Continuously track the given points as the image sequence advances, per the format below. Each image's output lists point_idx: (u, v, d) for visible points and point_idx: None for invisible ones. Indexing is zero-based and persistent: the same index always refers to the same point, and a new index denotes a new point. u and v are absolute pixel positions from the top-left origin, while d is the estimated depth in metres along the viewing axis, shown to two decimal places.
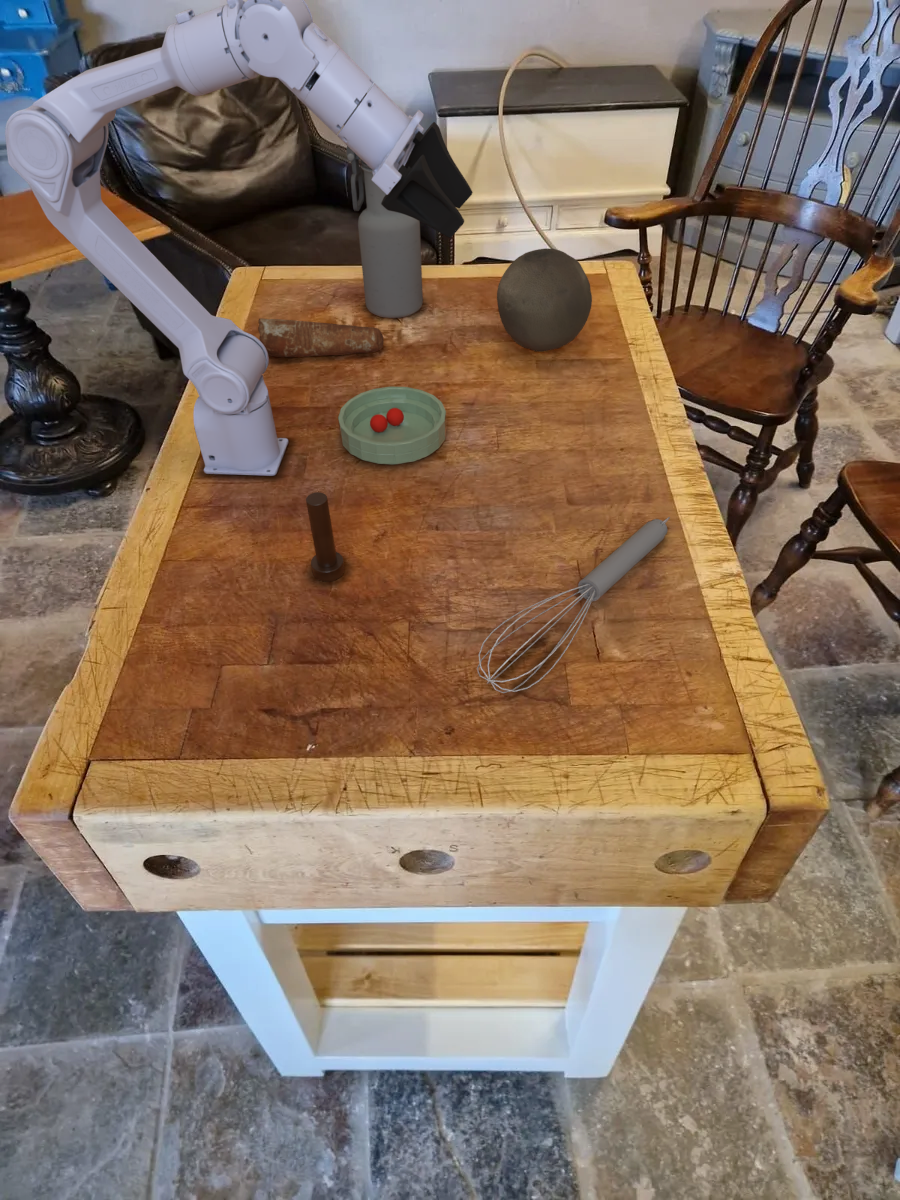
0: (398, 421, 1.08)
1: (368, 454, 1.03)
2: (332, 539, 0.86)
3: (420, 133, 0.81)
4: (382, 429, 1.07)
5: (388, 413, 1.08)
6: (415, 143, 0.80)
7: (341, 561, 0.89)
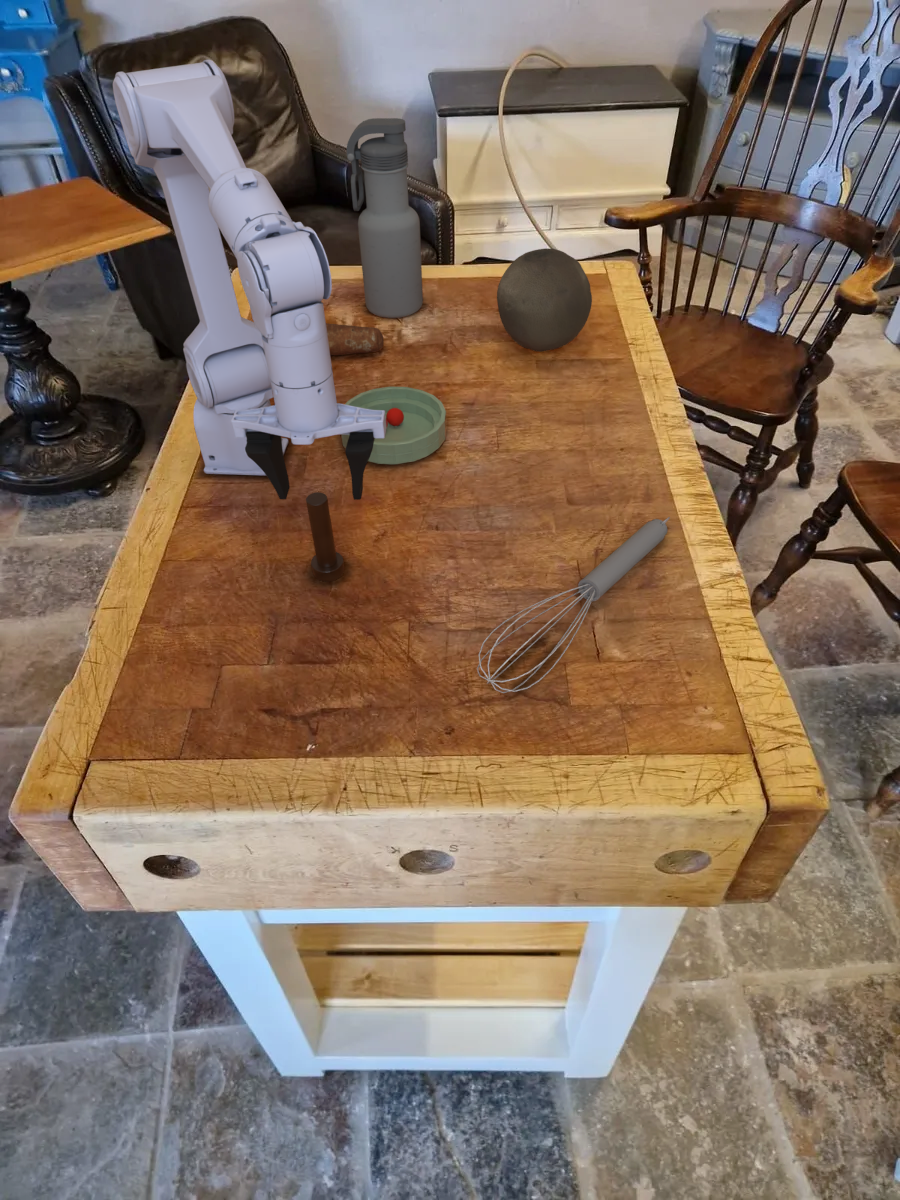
0: (398, 421, 1.08)
1: None
2: (332, 539, 0.86)
3: (369, 436, 0.76)
4: None
5: (388, 413, 1.08)
6: (350, 435, 0.77)
7: (341, 561, 0.89)
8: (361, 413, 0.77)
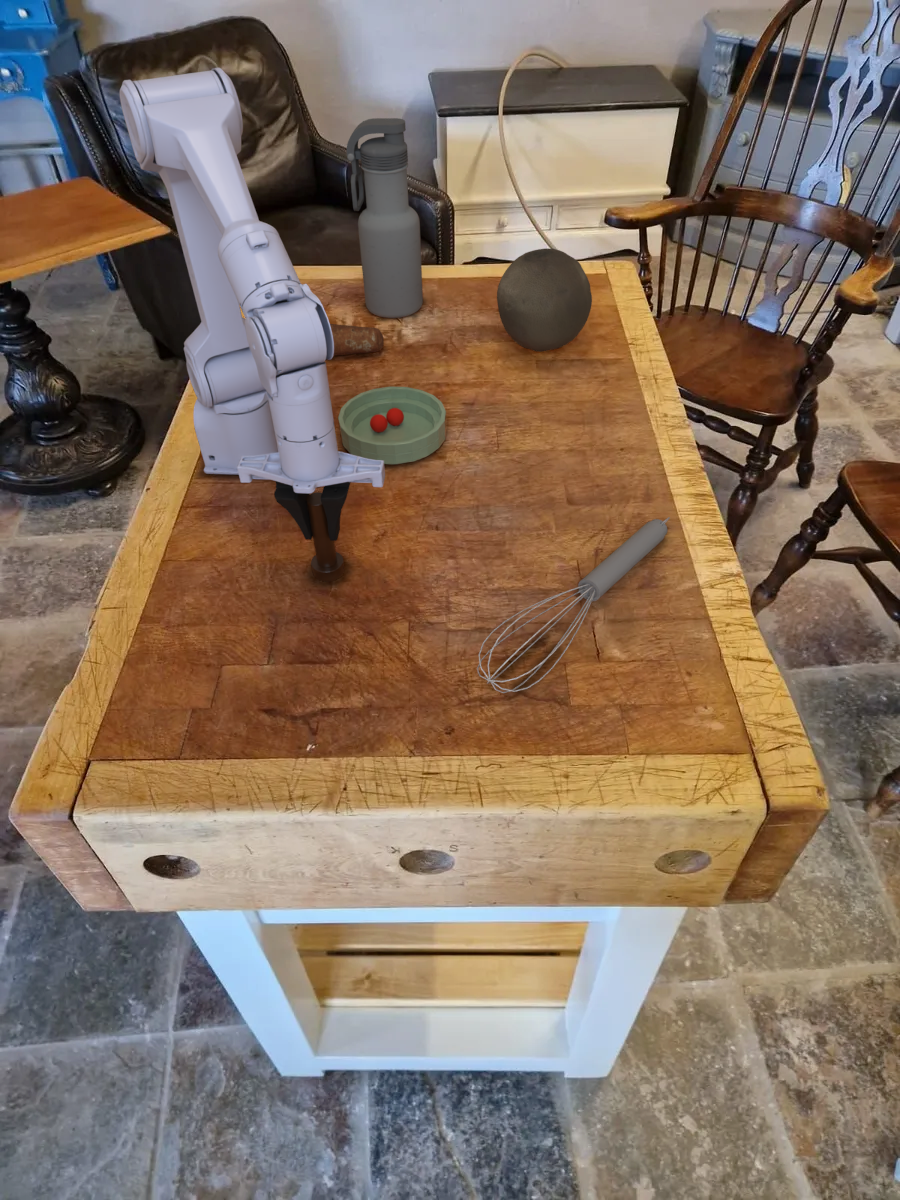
0: (398, 421, 1.08)
1: (368, 454, 1.03)
2: None
3: None
4: (382, 429, 1.07)
5: (388, 413, 1.08)
6: None
7: (341, 561, 0.89)
8: (361, 462, 0.80)
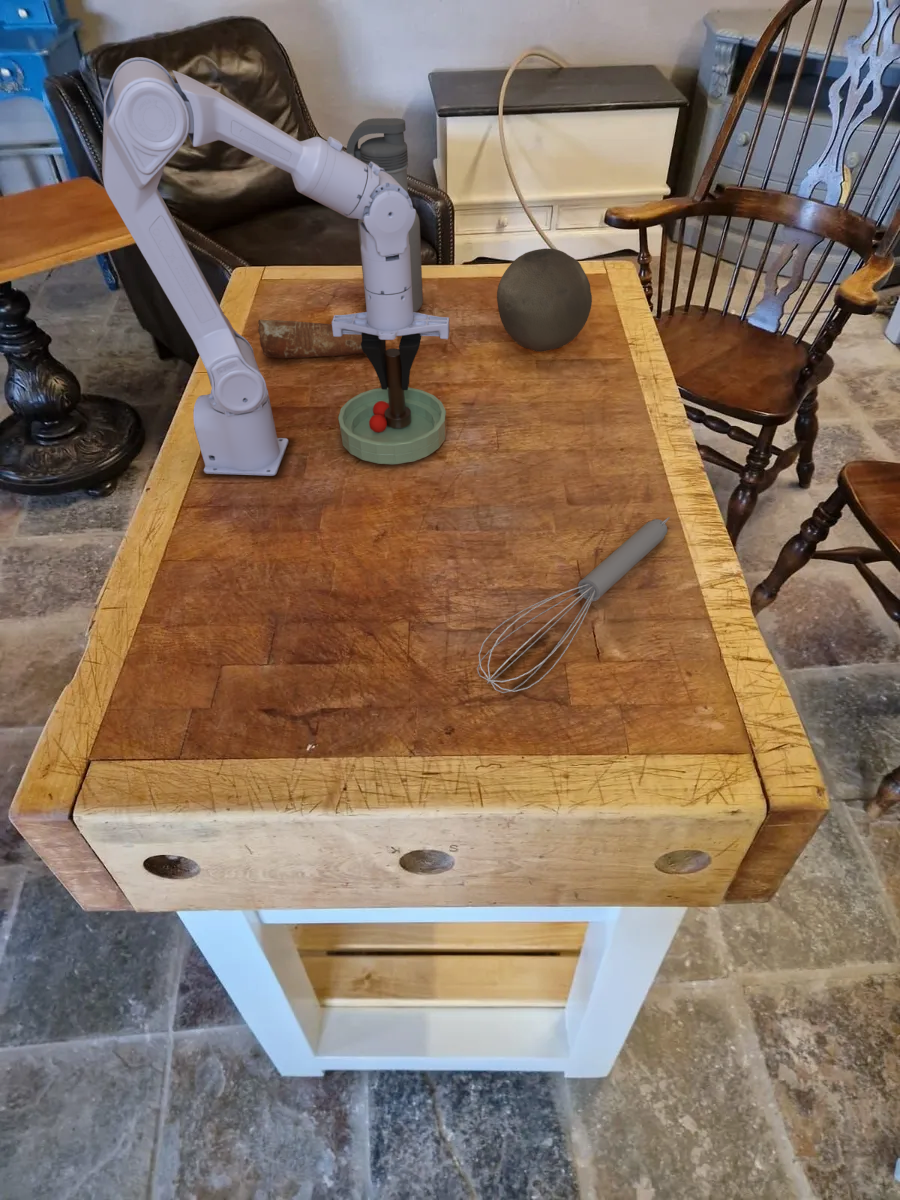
0: (375, 404, 1.10)
1: (368, 454, 1.03)
2: (403, 390, 1.06)
3: None
4: (381, 429, 1.07)
5: None
6: (402, 335, 1.00)
7: (409, 412, 1.08)
8: (430, 319, 1.00)
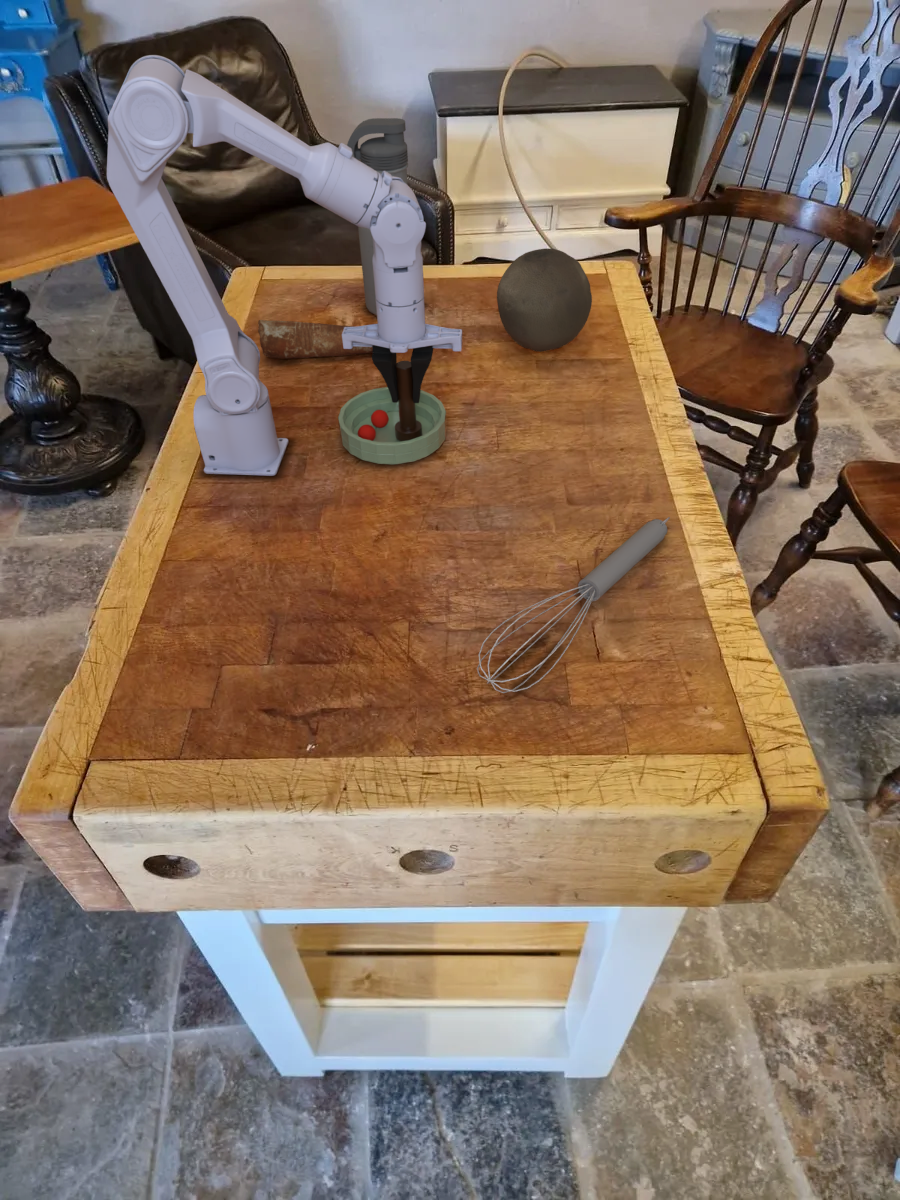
0: (380, 417, 1.07)
1: (368, 454, 1.03)
2: (414, 404, 1.03)
3: None
4: (361, 437, 1.05)
5: None
6: (414, 348, 0.98)
7: (420, 426, 1.06)
8: (443, 331, 0.97)
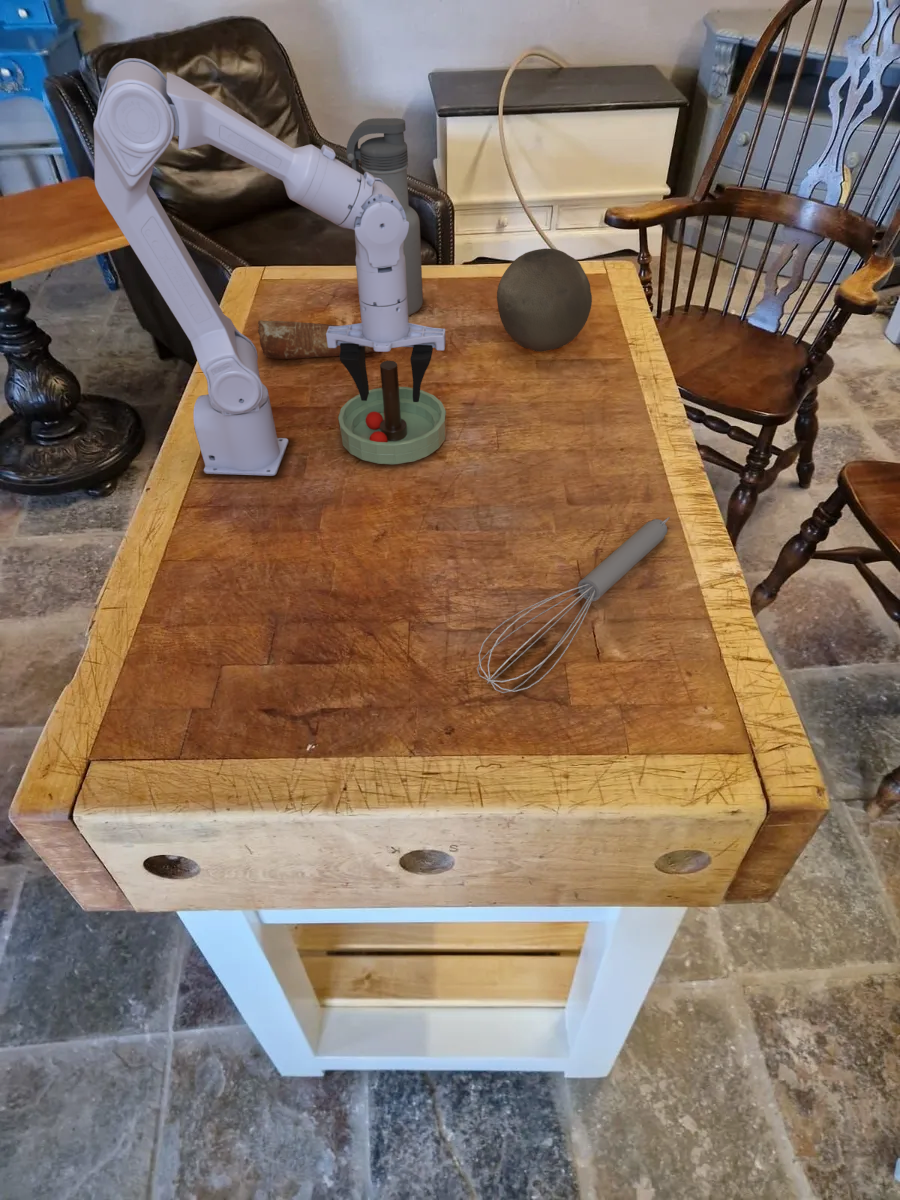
0: (373, 421, 1.07)
1: (368, 454, 1.03)
2: (398, 403, 1.04)
3: (432, 349, 0.98)
4: None
5: None
6: (414, 347, 0.99)
7: (404, 425, 1.07)
8: (426, 330, 0.98)
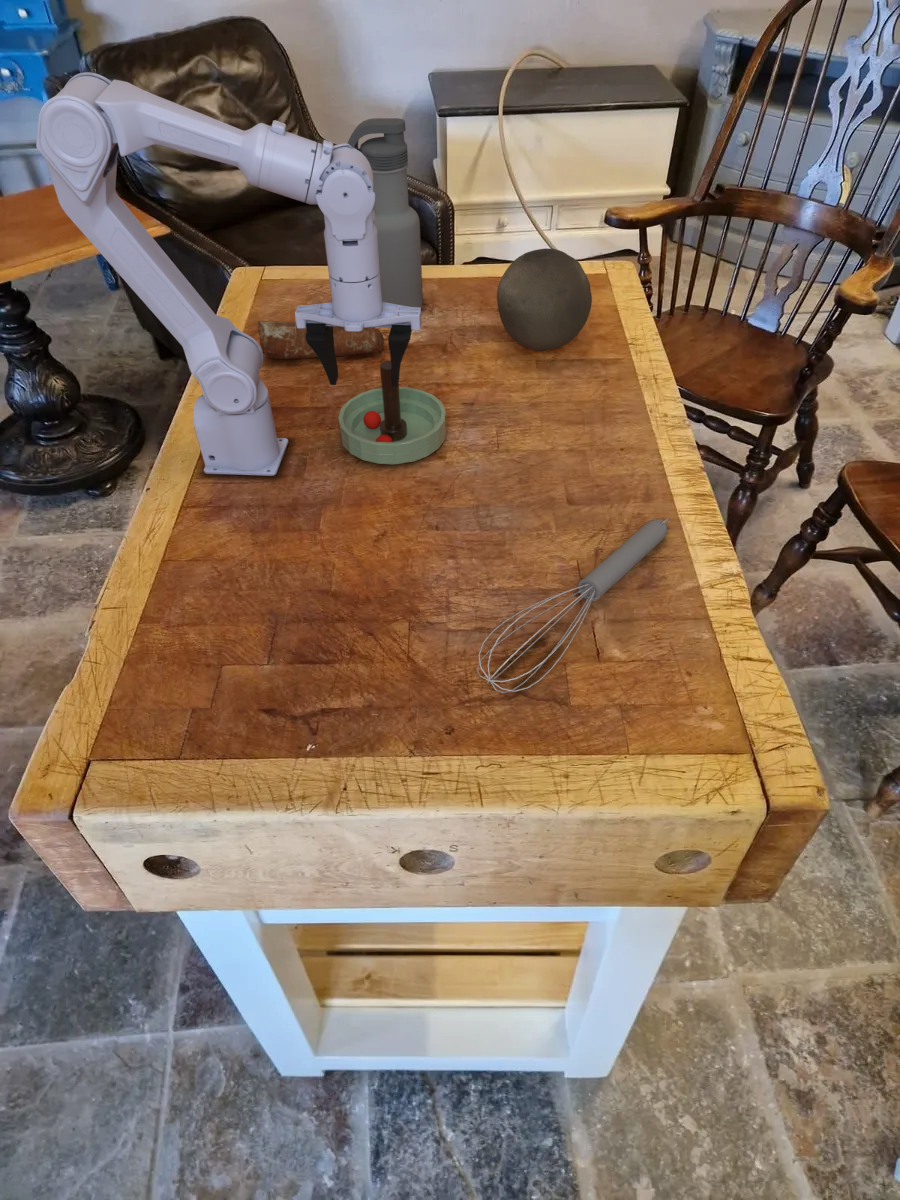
0: (370, 420, 1.07)
1: (368, 454, 1.03)
2: (398, 403, 1.04)
3: (408, 329, 0.93)
4: None
5: (363, 419, 1.09)
6: (391, 327, 0.93)
7: (404, 425, 1.07)
8: (401, 310, 0.93)
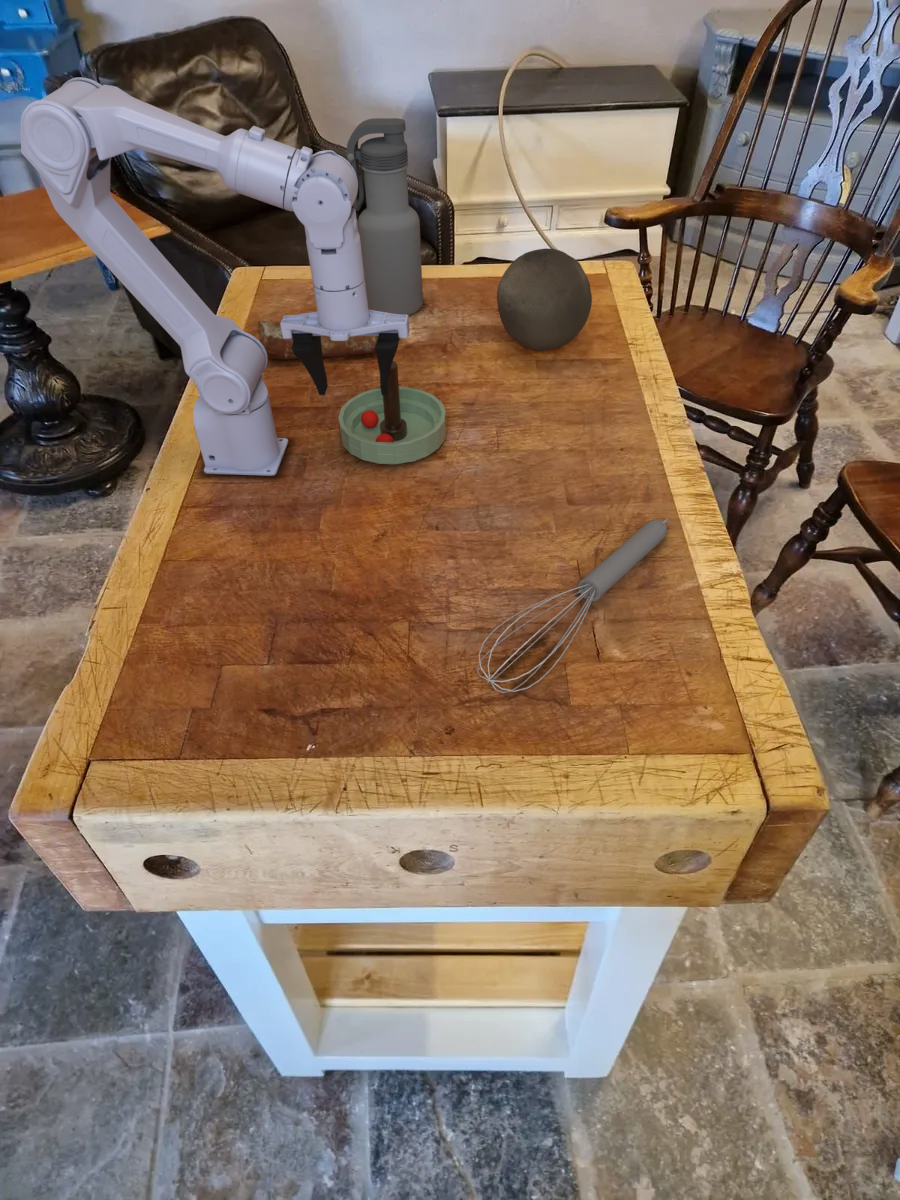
0: (366, 418, 1.07)
1: (368, 454, 1.03)
2: (398, 403, 1.04)
3: (395, 337, 0.91)
4: None
5: None
6: (379, 336, 0.91)
7: (404, 425, 1.07)
8: (388, 317, 0.91)
